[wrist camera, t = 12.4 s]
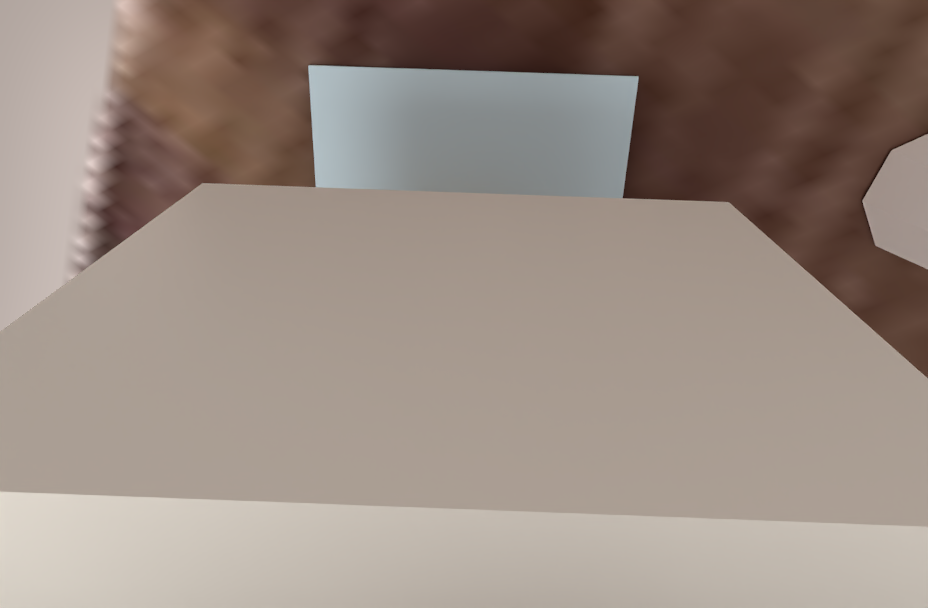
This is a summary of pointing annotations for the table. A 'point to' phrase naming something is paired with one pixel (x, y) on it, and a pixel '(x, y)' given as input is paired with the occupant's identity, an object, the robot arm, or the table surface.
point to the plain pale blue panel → (471, 130)
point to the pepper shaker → (901, 203)
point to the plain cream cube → (455, 414)
